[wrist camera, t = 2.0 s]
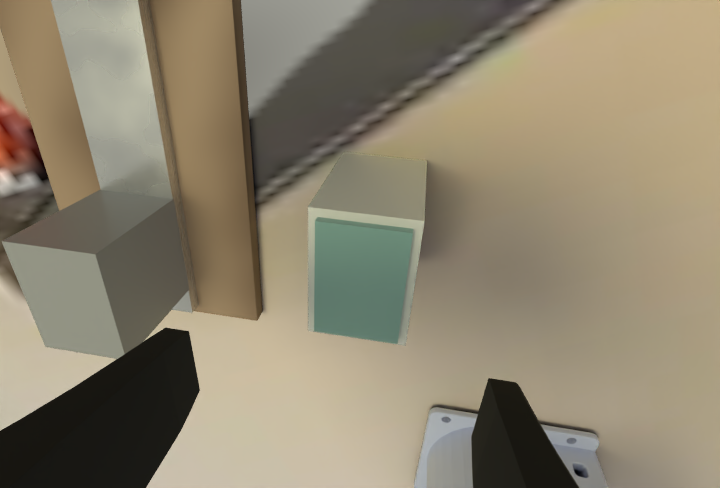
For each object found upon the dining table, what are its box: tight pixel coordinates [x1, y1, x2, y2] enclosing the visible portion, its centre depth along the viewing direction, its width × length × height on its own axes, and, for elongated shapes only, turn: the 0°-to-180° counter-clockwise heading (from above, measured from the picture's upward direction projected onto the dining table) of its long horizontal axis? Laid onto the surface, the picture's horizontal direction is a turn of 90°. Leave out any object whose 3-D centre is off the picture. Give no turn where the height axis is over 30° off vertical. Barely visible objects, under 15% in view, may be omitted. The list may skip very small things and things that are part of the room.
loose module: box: [308, 152, 427, 346], centre depth 16 cm, size 4×5×6 cm
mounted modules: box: [2, 190, 189, 359], centre depth 15 cm, size 4×18×5 cm, turn 177°
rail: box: [51, 0, 199, 313], centre depth 17 cm, size 4×21×1 cm, turn 177°
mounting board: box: [0, 0, 262, 321], centre depth 18 cm, size 10×22×1 cm, turn 177°
